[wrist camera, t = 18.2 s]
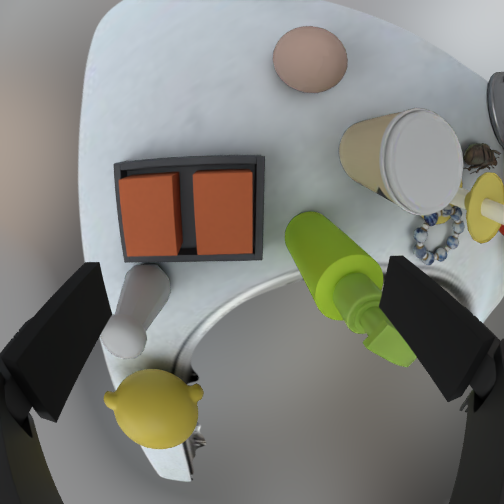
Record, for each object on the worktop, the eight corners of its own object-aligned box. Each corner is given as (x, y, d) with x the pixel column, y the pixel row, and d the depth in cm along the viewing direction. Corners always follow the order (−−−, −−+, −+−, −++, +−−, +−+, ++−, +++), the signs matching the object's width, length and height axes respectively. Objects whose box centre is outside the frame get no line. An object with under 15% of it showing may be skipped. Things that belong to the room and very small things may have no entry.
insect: (506, 152, 25) (494, 140, 27) (474, 146, 25) (462, 134, 27) (493, 176, 29) (483, 164, 31) (461, 175, 29) (450, 161, 31)
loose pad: (249, 168, 29) (252, 172, 25) (249, 240, 32) (252, 253, 28) (197, 170, 28) (192, 174, 25) (200, 241, 31) (197, 255, 28)
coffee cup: (337, 196, 31) (390, 226, 20) (325, 117, 28) (378, 106, 17) (401, 186, 31) (465, 209, 20) (393, 113, 28) (460, 110, 17)
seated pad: (179, 171, 28) (172, 175, 24) (183, 242, 31) (177, 255, 27) (131, 174, 28) (118, 179, 24) (137, 243, 31) (127, 256, 27)
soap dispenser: (318, 270, 35) (390, 390, 16) (274, 242, 33) (325, 366, 14) (347, 233, 33) (449, 330, 14) (304, 201, 31) (398, 286, 13)
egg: (339, 59, 25) (372, 38, 17) (317, 108, 27) (348, 98, 19) (282, 32, 23) (299, 0, 16) (257, 81, 26) (268, 60, 18)
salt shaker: (127, 256, 32) (82, 316, 20) (171, 256, 32) (143, 320, 20) (134, 297, 34) (101, 366, 22) (176, 298, 34) (156, 371, 22)
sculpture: (120, 438, 35) (113, 464, 24) (106, 369, 39) (92, 373, 28) (203, 429, 41) (223, 451, 30) (190, 363, 45) (205, 364, 34)
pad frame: (261, 155, 29) (264, 156, 26) (259, 251, 33) (262, 260, 31) (122, 161, 28) (113, 163, 25) (131, 254, 32) (124, 262, 29)
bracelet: (466, 209, 32) (474, 215, 30) (439, 263, 37) (446, 270, 35) (428, 192, 30) (437, 199, 28) (399, 255, 35) (406, 264, 33)
